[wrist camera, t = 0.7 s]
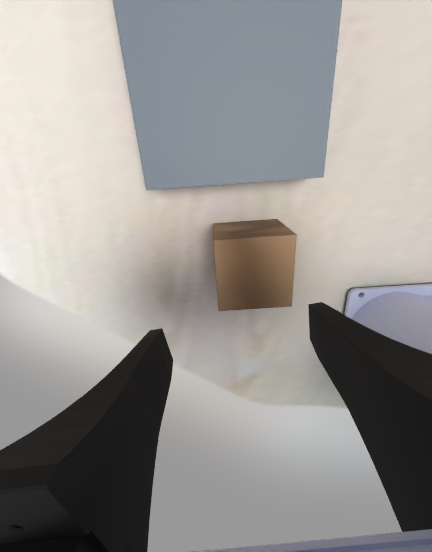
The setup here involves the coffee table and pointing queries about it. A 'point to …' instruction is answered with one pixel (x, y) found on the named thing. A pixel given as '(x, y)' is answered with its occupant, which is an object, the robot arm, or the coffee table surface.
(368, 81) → the coffee table surface
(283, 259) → the walnut cube
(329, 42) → the slate block
